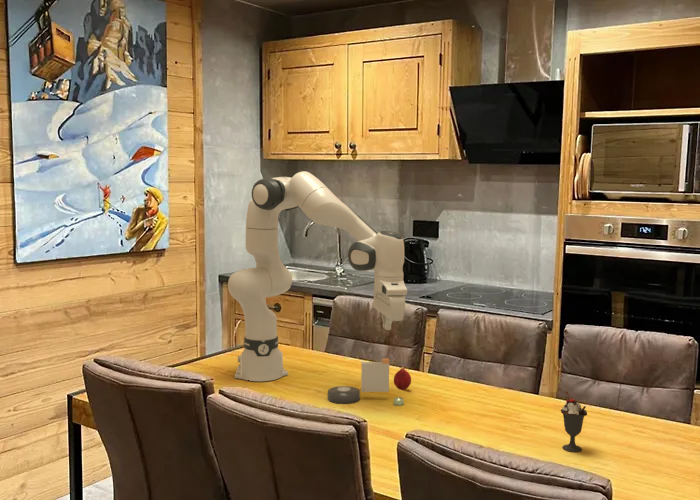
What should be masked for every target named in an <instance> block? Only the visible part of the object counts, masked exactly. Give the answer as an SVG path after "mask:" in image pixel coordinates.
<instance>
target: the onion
mask: <svg viewBox="0 0 700 500" xmlns="http://www.w3.org/2000/svg"><path fill="white" fill-rule="evenodd" d="M405 369H406V368H405V367H404V366H402V367H400V370H398V371H397V372H396V373H395V374H394V376H393V384H394V386H395V387H396V388H397V389H398V390H399V391H405V390H406V389H408V388H409V387H410V386H411V384H412V377H411V374H410V373H409V371H407V370H405Z"/></svg>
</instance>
